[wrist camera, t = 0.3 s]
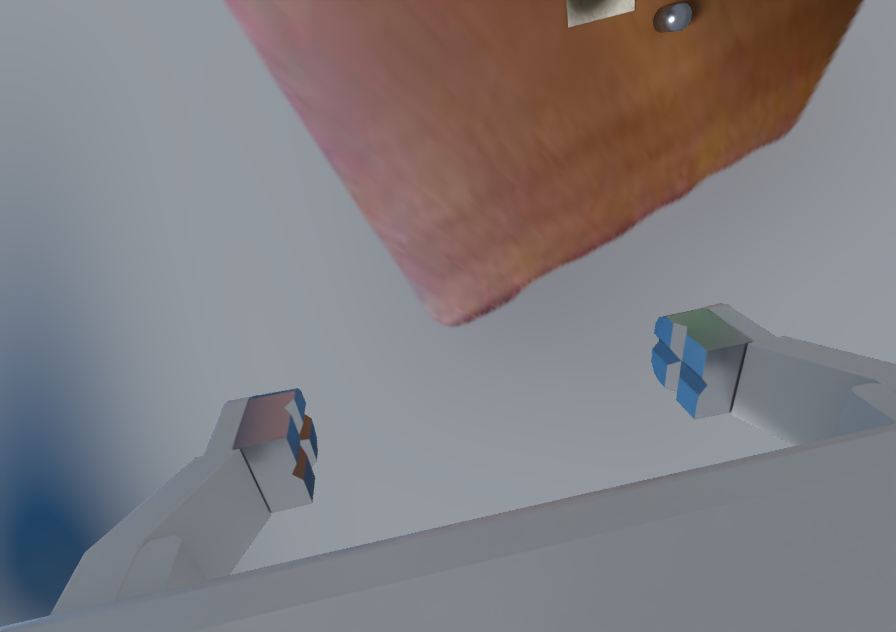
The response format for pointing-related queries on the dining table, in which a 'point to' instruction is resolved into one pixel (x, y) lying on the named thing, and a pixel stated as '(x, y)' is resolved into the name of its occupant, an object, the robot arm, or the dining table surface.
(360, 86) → the dining table surface
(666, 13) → the cylinder
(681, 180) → the dining table surface
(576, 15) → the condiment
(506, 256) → the dining table surface
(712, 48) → the dining table surface
